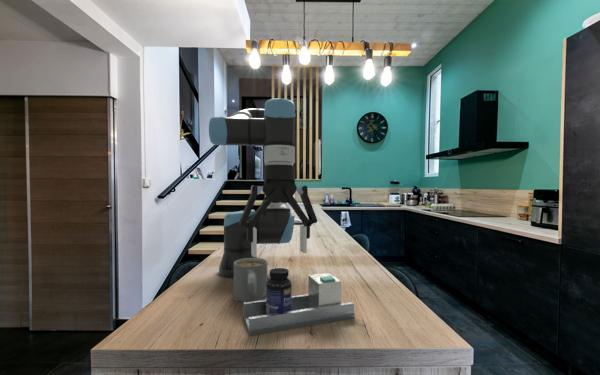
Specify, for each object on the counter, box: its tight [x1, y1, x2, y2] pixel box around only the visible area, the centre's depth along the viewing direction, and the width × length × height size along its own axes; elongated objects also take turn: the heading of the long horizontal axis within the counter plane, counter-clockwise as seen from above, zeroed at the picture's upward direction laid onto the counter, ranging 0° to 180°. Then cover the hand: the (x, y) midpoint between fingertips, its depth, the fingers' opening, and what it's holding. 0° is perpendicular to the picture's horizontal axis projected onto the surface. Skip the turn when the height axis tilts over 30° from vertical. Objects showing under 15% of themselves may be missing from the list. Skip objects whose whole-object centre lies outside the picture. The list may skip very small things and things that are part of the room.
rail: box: [242, 272, 355, 337], centre depth 71 cm, size 10×26×10 cm, turn 109°
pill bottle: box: [265, 267, 292, 315], centre depth 69 cm, size 6×6×11 cm
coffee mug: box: [233, 257, 268, 303], centre depth 83 cm, size 13×10×10 cm
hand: (279, 253), depth 69 cm, fingers open, 12 cm apart
